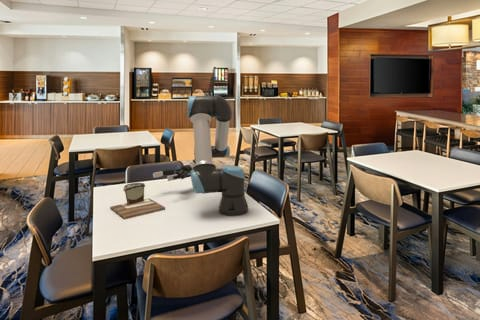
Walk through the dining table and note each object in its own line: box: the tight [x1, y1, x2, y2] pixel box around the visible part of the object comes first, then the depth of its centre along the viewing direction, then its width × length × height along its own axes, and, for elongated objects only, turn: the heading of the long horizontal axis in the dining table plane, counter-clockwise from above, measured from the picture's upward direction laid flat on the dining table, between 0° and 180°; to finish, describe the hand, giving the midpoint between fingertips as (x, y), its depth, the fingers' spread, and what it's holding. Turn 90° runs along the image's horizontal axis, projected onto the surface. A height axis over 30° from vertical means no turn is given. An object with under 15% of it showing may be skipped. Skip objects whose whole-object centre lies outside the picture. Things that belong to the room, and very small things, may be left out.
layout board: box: [109, 198, 166, 220], centre depth 190 cm, size 20×22×1 cm
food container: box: [123, 182, 146, 205], centre depth 196 cm, size 12×6×10 cm, turn 137°
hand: (160, 177), depth 204 cm, fingers open, 13 cm apart
